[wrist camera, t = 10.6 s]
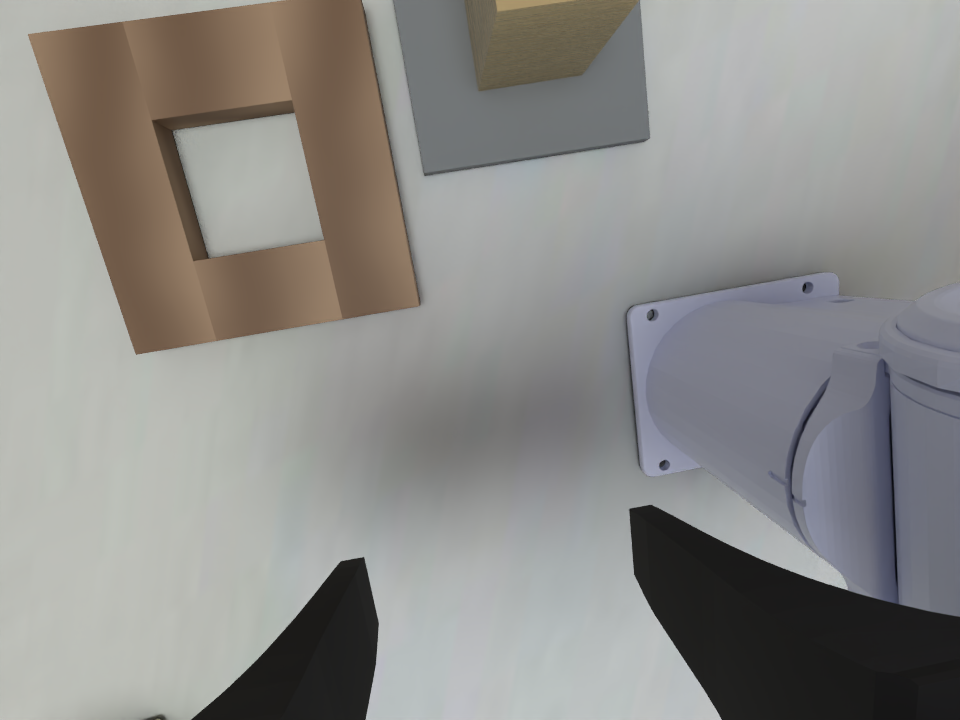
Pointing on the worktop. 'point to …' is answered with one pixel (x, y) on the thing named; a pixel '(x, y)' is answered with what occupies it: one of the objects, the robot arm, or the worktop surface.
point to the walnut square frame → (217, 99)
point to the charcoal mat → (514, 96)
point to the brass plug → (539, 38)
